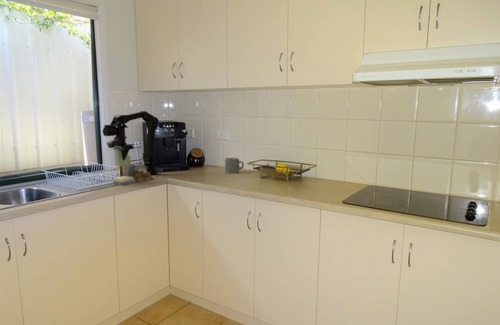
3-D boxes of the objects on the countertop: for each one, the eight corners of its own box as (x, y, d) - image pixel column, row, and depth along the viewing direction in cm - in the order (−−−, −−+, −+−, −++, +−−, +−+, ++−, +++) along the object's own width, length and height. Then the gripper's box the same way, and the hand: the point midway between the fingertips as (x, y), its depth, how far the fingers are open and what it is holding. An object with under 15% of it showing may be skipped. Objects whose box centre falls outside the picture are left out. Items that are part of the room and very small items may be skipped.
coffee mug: (223, 173, 243) (223, 159, 241) (227, 170, 253) (226, 157, 251) (242, 173, 241) (242, 159, 239) (244, 171, 250) (244, 158, 249)
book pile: (127, 180, 215) (127, 175, 214) (135, 182, 209) (135, 177, 209) (111, 183, 206) (111, 178, 206) (119, 185, 201) (119, 179, 200)
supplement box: (120, 175, 234) (119, 156, 232) (116, 174, 237) (115, 155, 235) (131, 173, 240) (130, 155, 238) (127, 172, 243) (126, 154, 241)
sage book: (125, 163, 221) (124, 148, 220) (128, 164, 219) (127, 148, 217) (115, 164, 216) (114, 149, 214) (118, 165, 214) (117, 149, 212)
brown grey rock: (134, 175, 233) (134, 163, 232) (152, 179, 220) (152, 166, 219) (120, 177, 224) (119, 165, 223) (138, 181, 212) (137, 168, 211)
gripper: (100, 135, 214) (102, 159, 217) (116, 136, 203) (118, 162, 205) (117, 134, 223) (118, 158, 225) (133, 135, 211) (134, 160, 214)
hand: (121, 159), depth 217 cm, fingers closed on sage book, 4 cm apart
